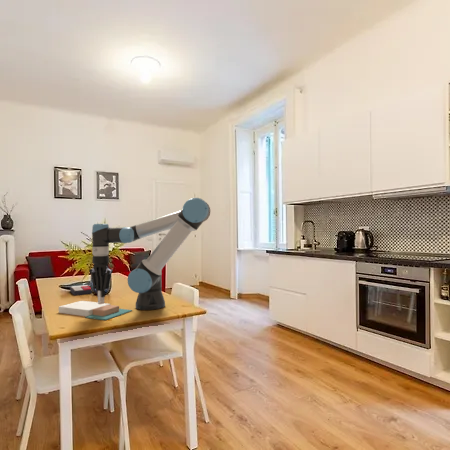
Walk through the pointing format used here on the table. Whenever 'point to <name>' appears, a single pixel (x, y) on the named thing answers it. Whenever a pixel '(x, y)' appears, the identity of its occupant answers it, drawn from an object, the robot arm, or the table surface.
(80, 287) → the calculator
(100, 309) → the tile
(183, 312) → the table surface
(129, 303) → the table surface
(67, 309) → the panel
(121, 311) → the mat
